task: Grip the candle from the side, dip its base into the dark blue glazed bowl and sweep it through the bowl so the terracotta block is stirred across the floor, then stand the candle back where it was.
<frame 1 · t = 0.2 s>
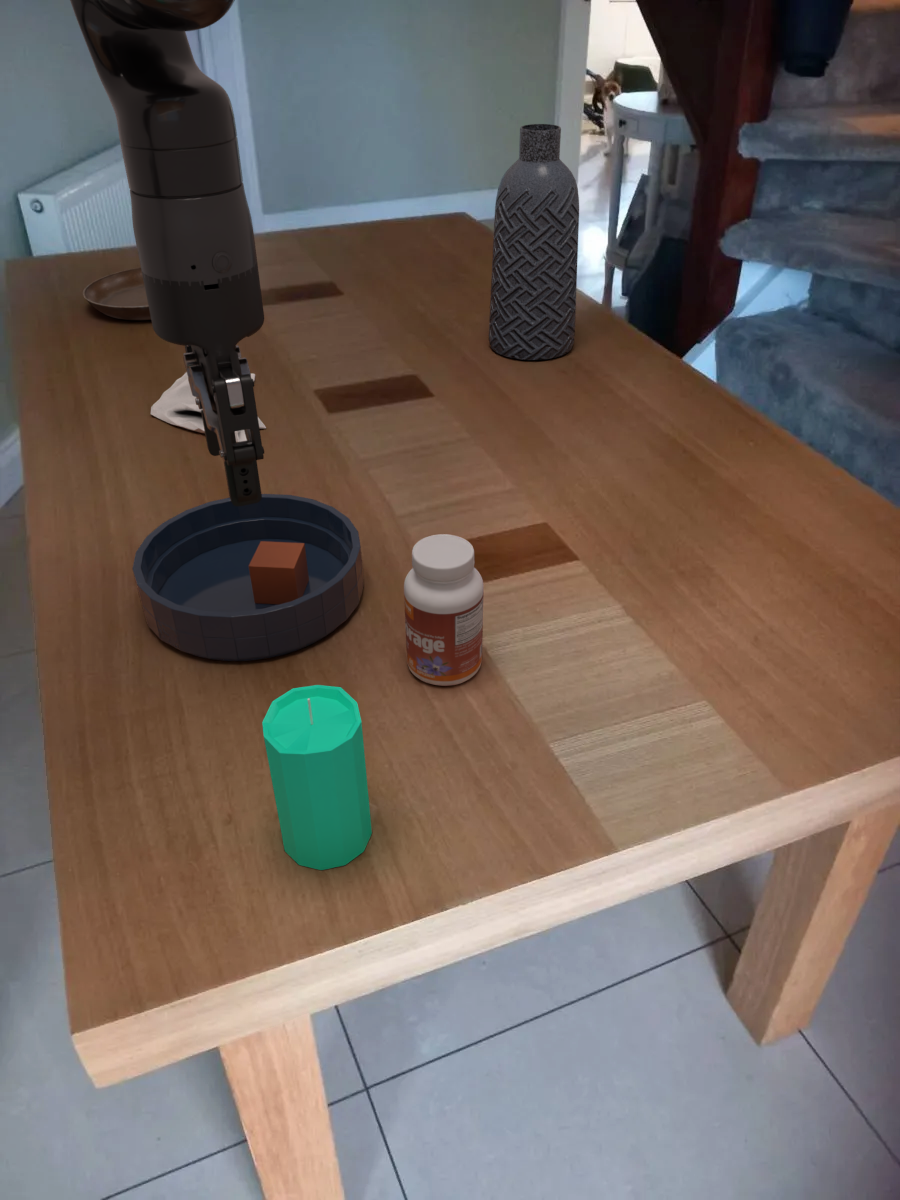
hand: (234, 476, 70), 15 cm above the table, tool pointing down, fingers open, 8 cm apart
plant saucer: (154, 305, 148), on the table
bowl: (256, 595, 83), on the table
candle: (327, 834, 61), on the table
pill bottle: (444, 665, 75), on the table
vase: (531, 347, 132), on the table
cloth: (207, 409, 116), on the table
block: (282, 591, 82), point 1 cm above the table, touching bowl
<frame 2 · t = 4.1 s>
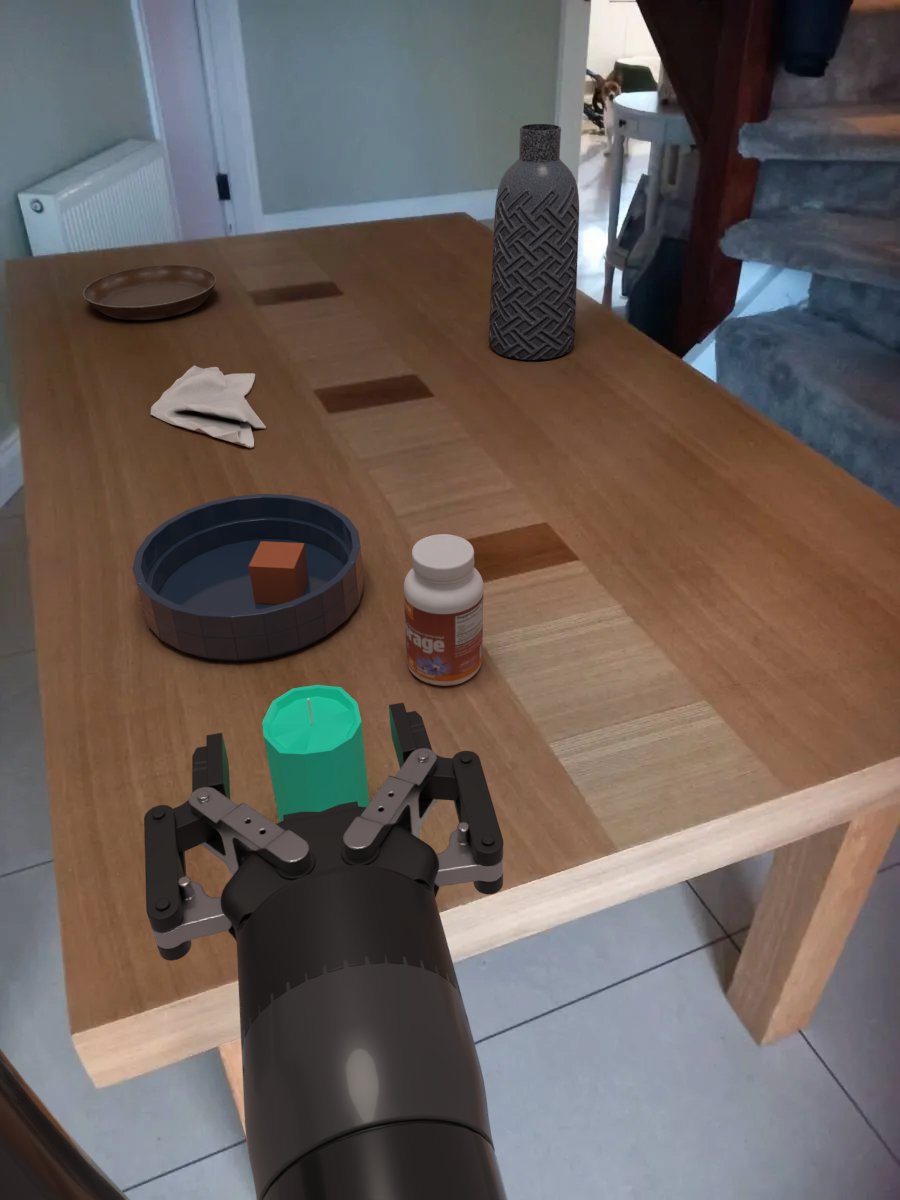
hand: (308, 732, 44), 18 cm above the table, tool horizontal, fingers open, 8 cm apart
nothing on the table moved.
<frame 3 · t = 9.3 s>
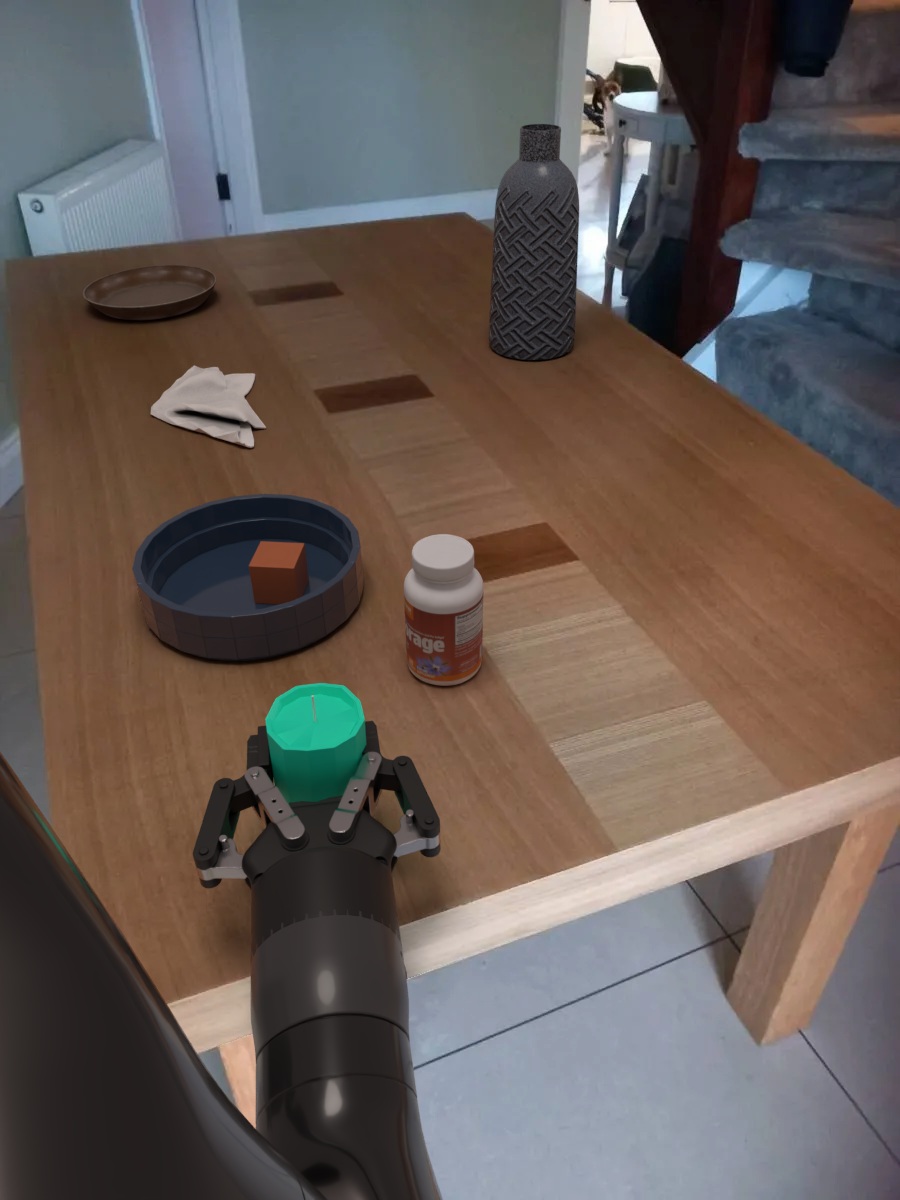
hand: (312, 730, 59), 7 cm above the table, tool horizontal, fingers closed on candle, 5 cm apart
candle: (327, 834, 61), on the table, touching gripper
everything else where it was.
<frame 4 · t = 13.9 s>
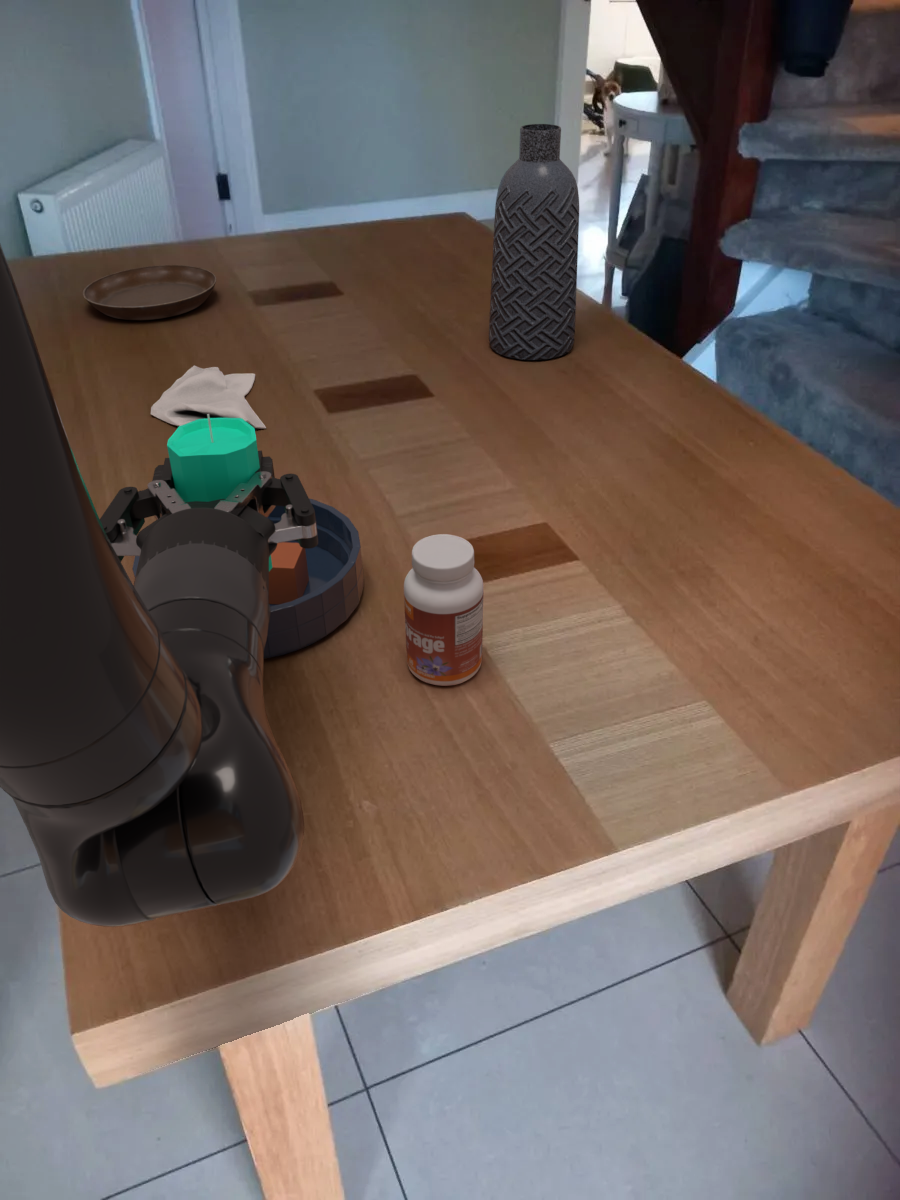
hand: (215, 466, 66), 18 cm above the table, tool horizontal, fingers closed on candle, 5 cm apart
candle: (232, 569, 68), point 11 cm above the table, touching gripper
everything else where it was.
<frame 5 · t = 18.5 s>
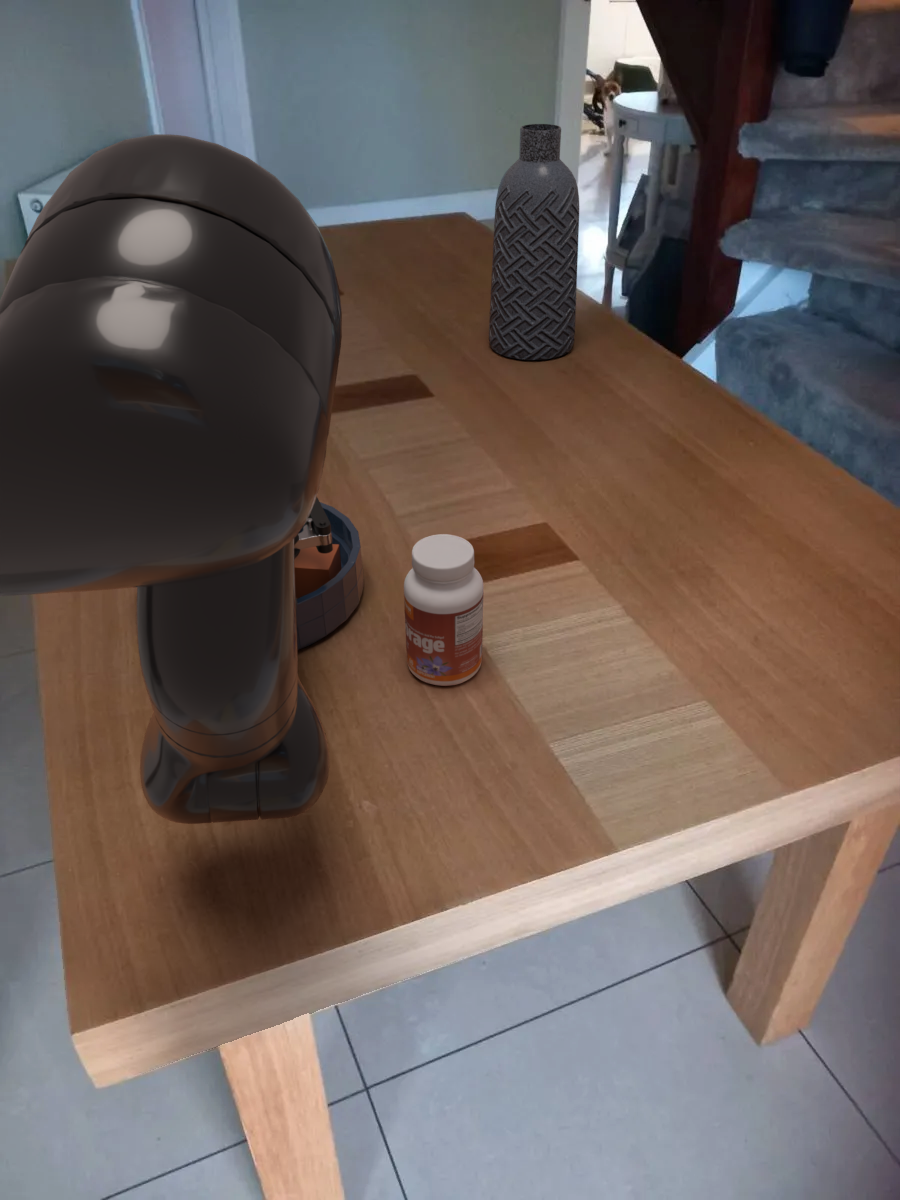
hand: (247, 485, 80), 10 cm above the table, tool horizontal, fingers closed on candle, 5 cm apart
candle: (260, 570, 82), point 2 cm above the table, touching gripper
block: (316, 592, 82), point 1 cm above the table, touching bowl
everything else where it was.
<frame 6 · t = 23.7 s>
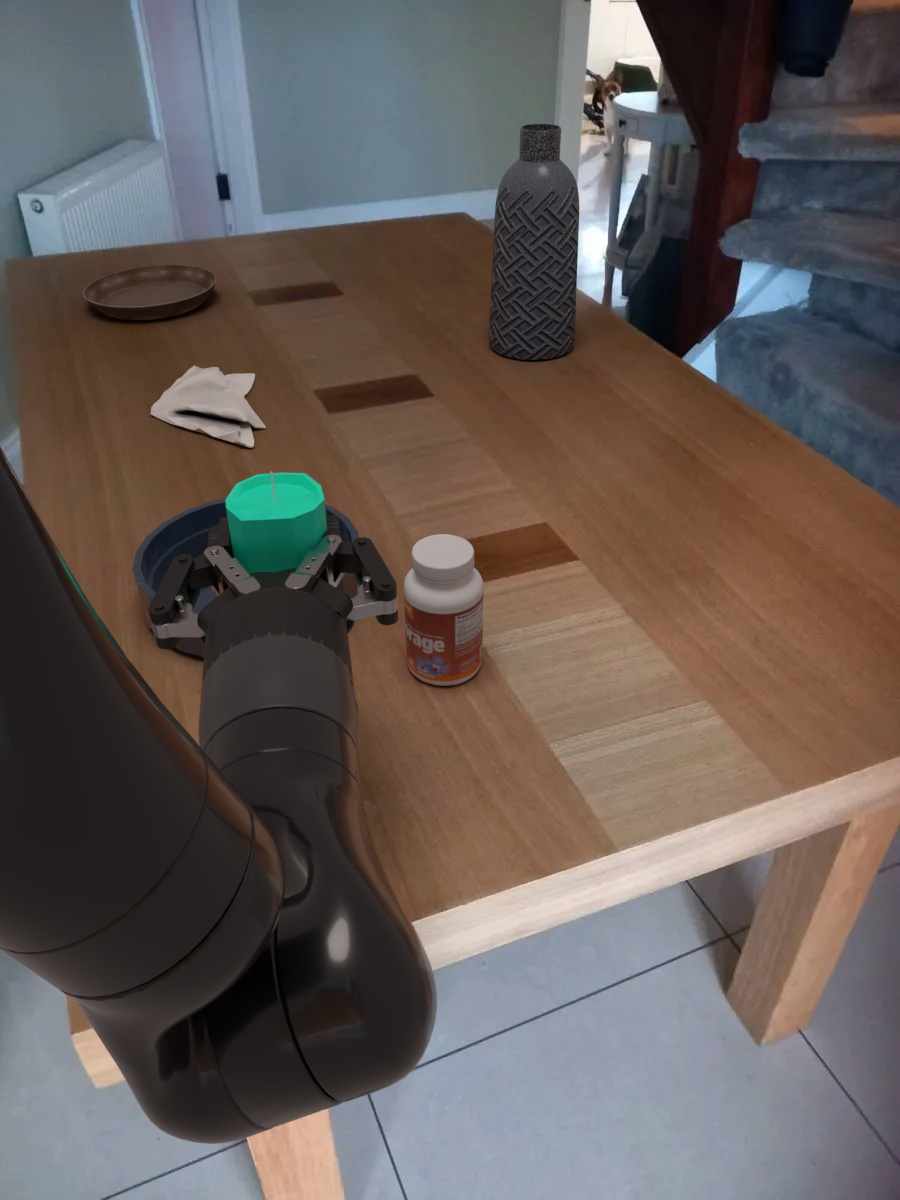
hand: (274, 525, 59), 18 cm above the table, tool horizontal, fingers closed on candle, 5 cm apart
candle: (291, 636, 61), point 10 cm above the table, touching gripper
everything else where it was.
when the fingers open (7 cm above the table, at t = 28.1 s): candle stays where it is, on the table.
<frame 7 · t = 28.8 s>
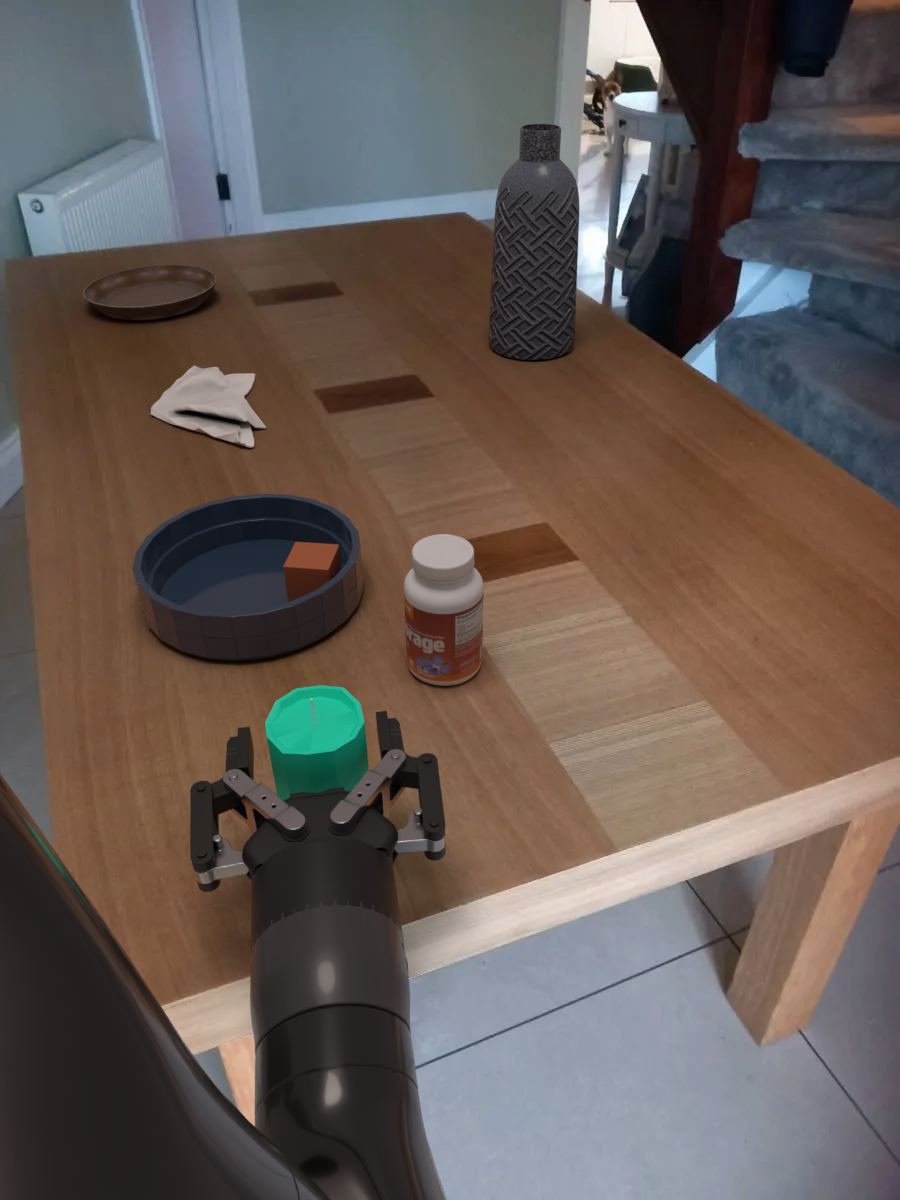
hand: (314, 728, 58), 8 cm above the table, tool horizontal, fingers open, 8 cm apart
candle: (330, 835, 61), on the table
everything else where it was.
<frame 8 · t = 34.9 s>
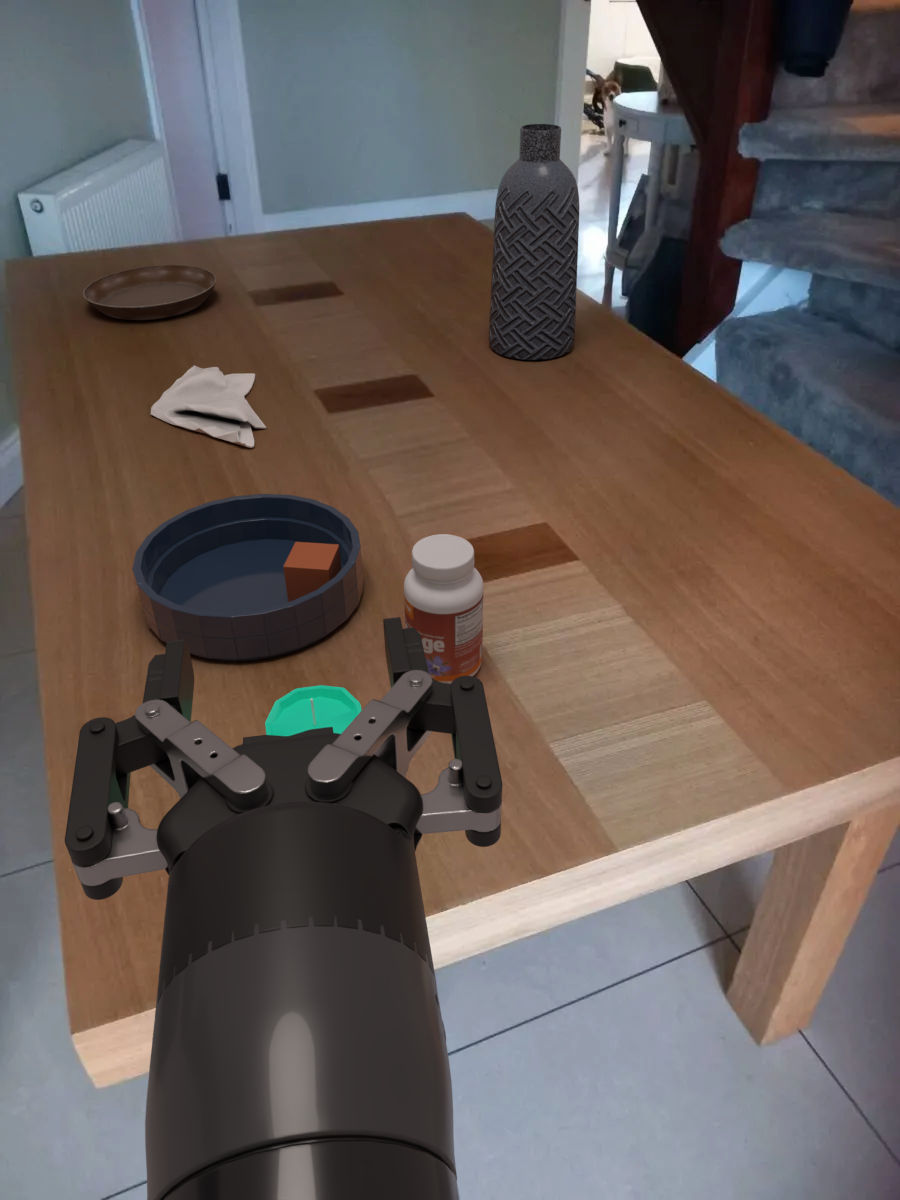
hand: (287, 645, 37), 25 cm above the table, tool horizontal, fingers open, 8 cm apart
nothing on the table moved.
at the end: block moved 3.1 cm from its start; block inside the target area in the bowl (5.6 cm from its centre), point 0.6 cm above the bowl's base; candle tilted 0° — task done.
